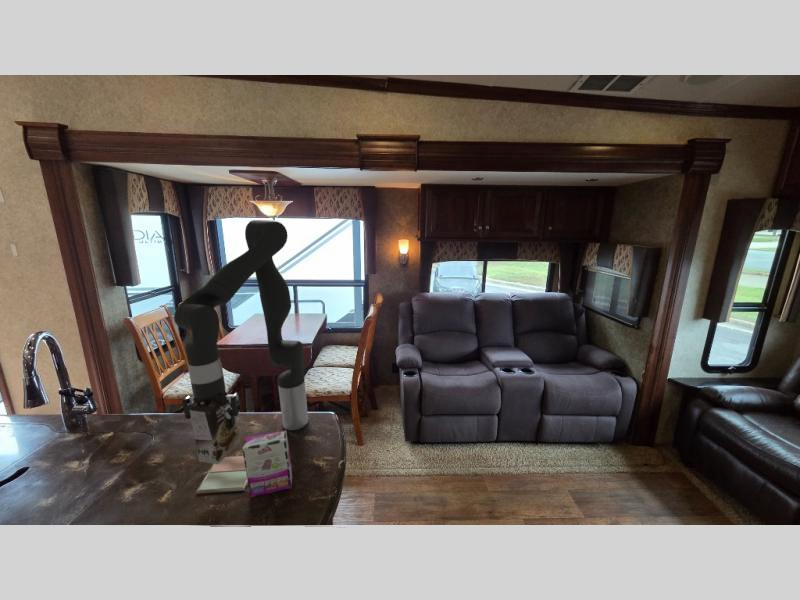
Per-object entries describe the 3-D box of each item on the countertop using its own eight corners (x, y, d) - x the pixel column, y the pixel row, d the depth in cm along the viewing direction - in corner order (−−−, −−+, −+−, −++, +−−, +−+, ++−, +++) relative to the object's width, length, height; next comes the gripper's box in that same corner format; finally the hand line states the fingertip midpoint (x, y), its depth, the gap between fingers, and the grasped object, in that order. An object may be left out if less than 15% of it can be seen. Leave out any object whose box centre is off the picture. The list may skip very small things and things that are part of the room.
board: (218, 459, 101) (218, 457, 101) (259, 456, 102) (259, 454, 102) (196, 493, 88) (196, 490, 88) (244, 490, 90) (243, 487, 89)
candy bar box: (292, 475, 95) (287, 429, 90) (291, 488, 90) (286, 440, 86) (252, 484, 92) (245, 436, 87) (249, 498, 87) (241, 448, 83)
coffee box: (218, 465, 85) (208, 412, 80) (198, 461, 86) (187, 410, 82) (241, 442, 93) (233, 394, 89) (222, 439, 94) (214, 391, 90)
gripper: (240, 368, 88) (248, 419, 92) (186, 370, 86) (196, 422, 91) (228, 381, 80) (237, 436, 85) (170, 384, 79) (181, 439, 83)
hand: (216, 428), depth 88 cm, fingers closed on coffee box, 7 cm apart
